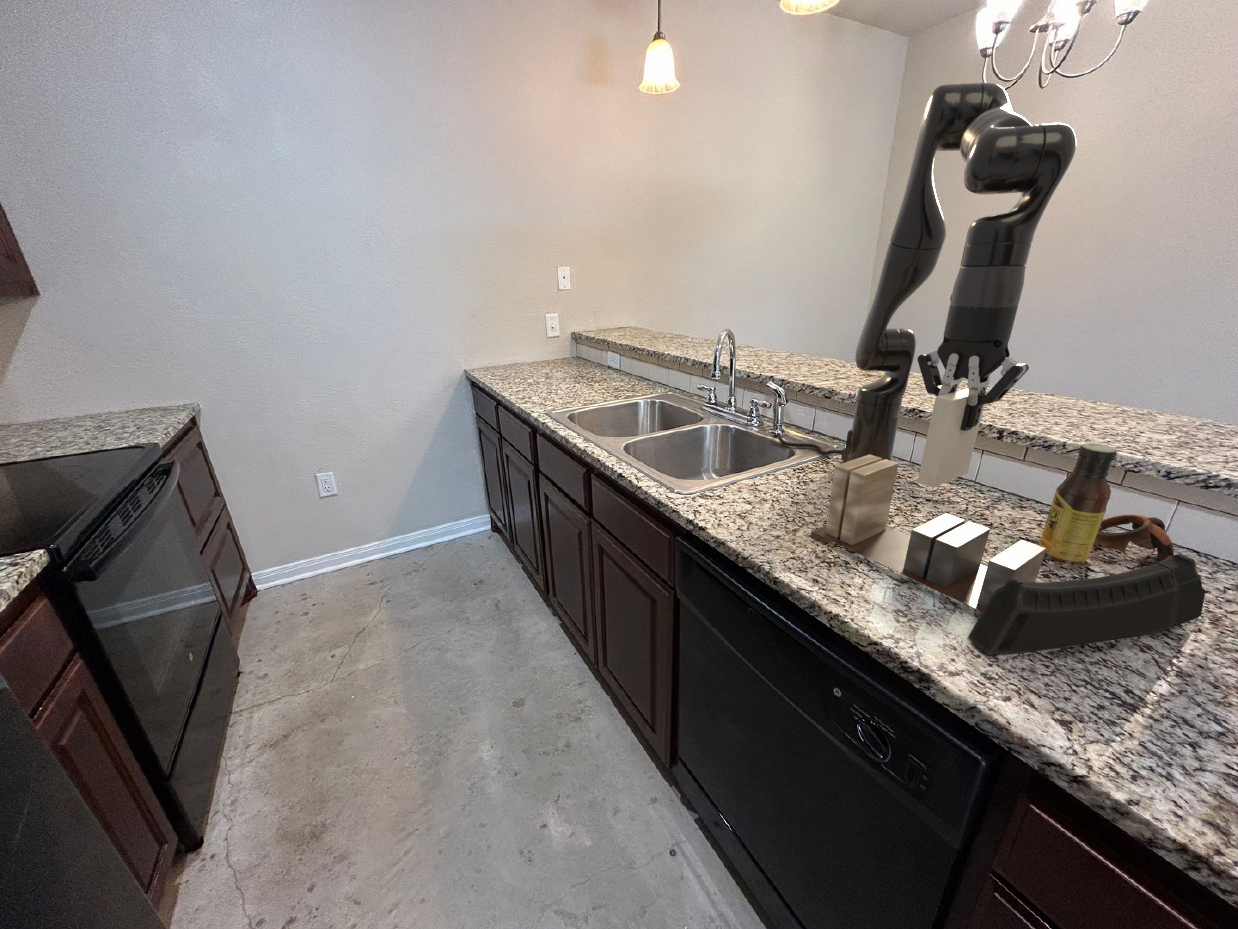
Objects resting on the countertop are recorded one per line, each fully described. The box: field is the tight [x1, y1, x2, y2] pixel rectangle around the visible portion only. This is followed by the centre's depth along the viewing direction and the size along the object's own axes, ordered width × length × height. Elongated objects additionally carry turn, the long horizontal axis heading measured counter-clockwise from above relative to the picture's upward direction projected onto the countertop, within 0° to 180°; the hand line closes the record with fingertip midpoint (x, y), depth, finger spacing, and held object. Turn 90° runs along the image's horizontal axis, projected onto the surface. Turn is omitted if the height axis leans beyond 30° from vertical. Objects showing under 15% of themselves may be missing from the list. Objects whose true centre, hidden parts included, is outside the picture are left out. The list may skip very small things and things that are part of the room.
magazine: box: [967, 553, 1206, 656], centre depth 62 cm, size 17×3×30 cm
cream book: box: [917, 387, 989, 489], centre depth 73 cm, size 2×10×13 cm, turn 123°
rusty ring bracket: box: [1092, 514, 1175, 561], centre depth 82 cm, size 12×10×8 cm
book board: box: [810, 455, 1046, 613], centre depth 79 cm, size 31×13×14 cm, turn 32°
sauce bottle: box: [1038, 442, 1118, 566], centre depth 78 cm, size 6×6×20 cm
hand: (954, 426), depth 72 cm, fingers closed on cream book, 2 cm apart
